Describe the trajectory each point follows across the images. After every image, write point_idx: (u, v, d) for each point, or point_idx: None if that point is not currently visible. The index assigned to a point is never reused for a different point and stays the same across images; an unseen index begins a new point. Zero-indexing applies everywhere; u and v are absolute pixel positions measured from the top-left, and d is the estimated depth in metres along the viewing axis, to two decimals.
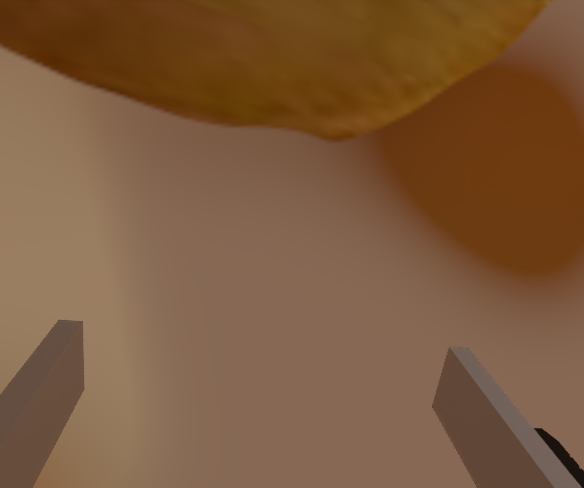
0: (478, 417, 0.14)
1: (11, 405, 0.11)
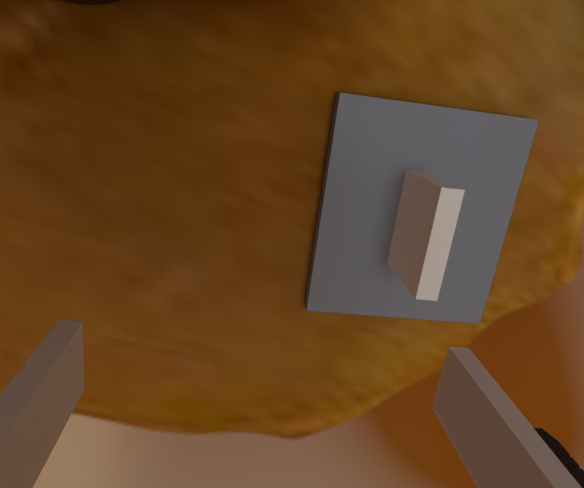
0: (479, 417, 0.14)
1: (11, 405, 0.11)
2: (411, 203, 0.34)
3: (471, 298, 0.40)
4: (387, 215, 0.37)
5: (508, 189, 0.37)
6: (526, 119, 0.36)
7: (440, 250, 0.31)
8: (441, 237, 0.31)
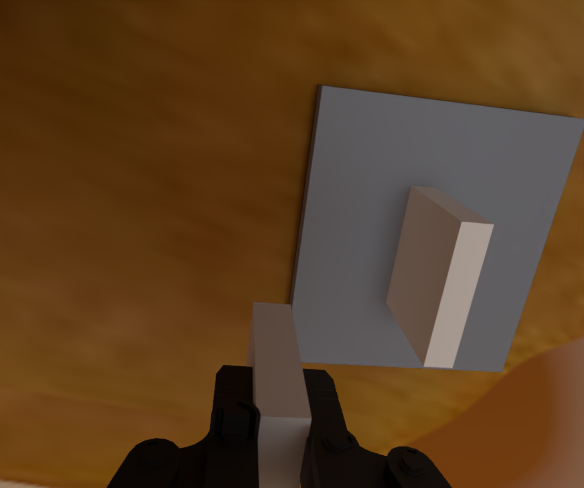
0: None
1: (268, 364, 0.14)
2: (417, 233, 0.26)
3: (492, 342, 0.32)
4: (386, 244, 0.29)
5: (543, 209, 0.29)
6: (570, 118, 0.27)
7: (458, 304, 0.23)
8: (460, 287, 0.22)
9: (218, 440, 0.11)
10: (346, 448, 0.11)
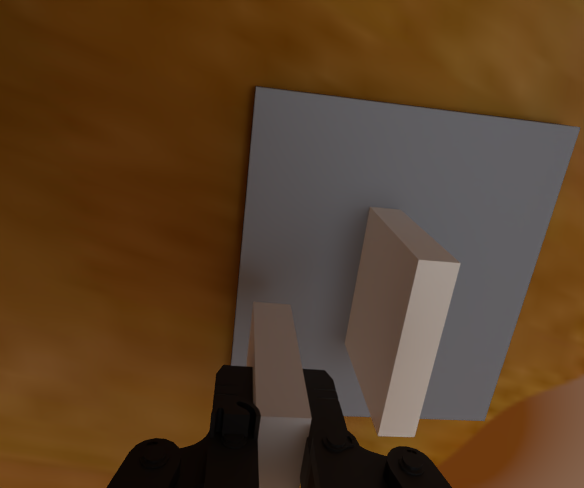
0: None
1: (268, 364, 0.14)
2: (375, 266, 0.21)
3: (472, 387, 0.28)
4: (343, 276, 0.24)
5: (529, 234, 0.24)
6: (561, 127, 0.22)
7: (418, 361, 0.18)
8: (419, 341, 0.18)
9: (218, 440, 0.11)
10: (346, 448, 0.11)
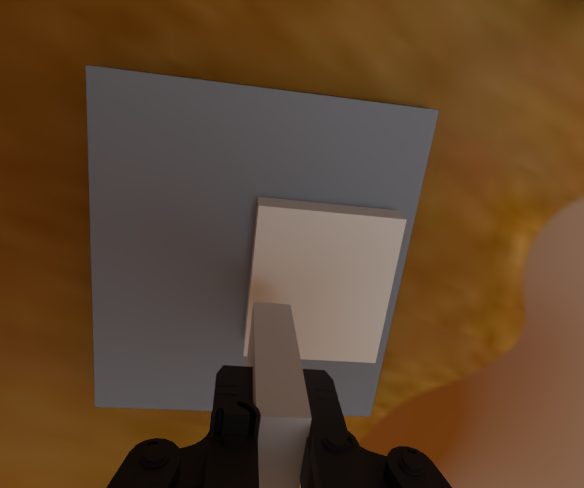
0: None
1: (268, 364, 0.14)
2: (307, 254, 0.22)
3: (353, 382, 0.27)
4: (202, 265, 0.23)
5: None
6: (418, 109, 0.22)
7: None
8: None
9: (218, 440, 0.11)
10: (346, 448, 0.11)
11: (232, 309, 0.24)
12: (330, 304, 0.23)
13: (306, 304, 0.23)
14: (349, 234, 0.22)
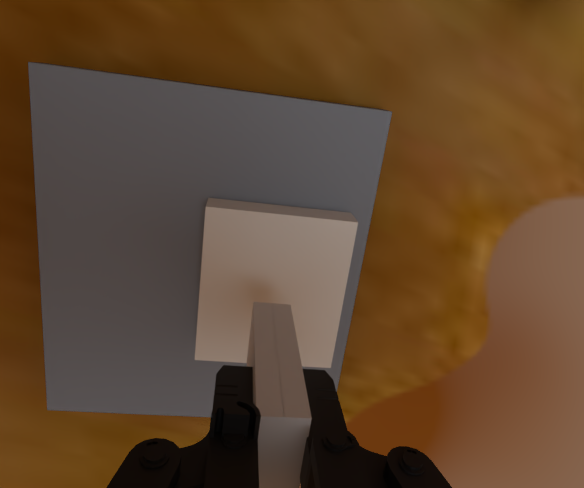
0: None
1: (268, 364, 0.14)
2: (257, 257, 0.21)
3: None
4: (153, 267, 0.23)
5: None
6: (370, 110, 0.21)
7: None
8: None
9: (218, 440, 0.11)
10: (346, 448, 0.11)
11: (185, 312, 0.24)
12: None
13: None
14: (299, 236, 0.21)
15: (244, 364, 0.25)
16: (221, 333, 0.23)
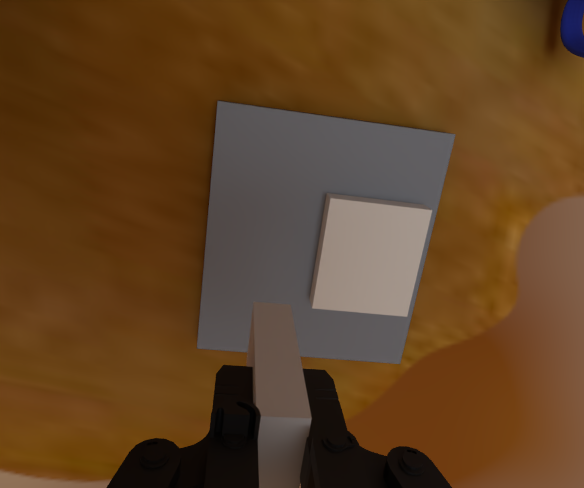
0: None
1: (268, 364, 0.14)
2: (362, 233, 0.31)
3: (388, 335, 0.35)
4: (283, 242, 0.32)
5: None
6: (440, 133, 0.31)
7: None
8: None
9: (218, 440, 0.11)
10: (346, 448, 0.11)
11: (302, 275, 0.33)
12: (376, 271, 0.32)
13: (359, 270, 0.32)
14: (392, 220, 0.31)
15: (340, 316, 0.35)
16: (332, 289, 0.32)
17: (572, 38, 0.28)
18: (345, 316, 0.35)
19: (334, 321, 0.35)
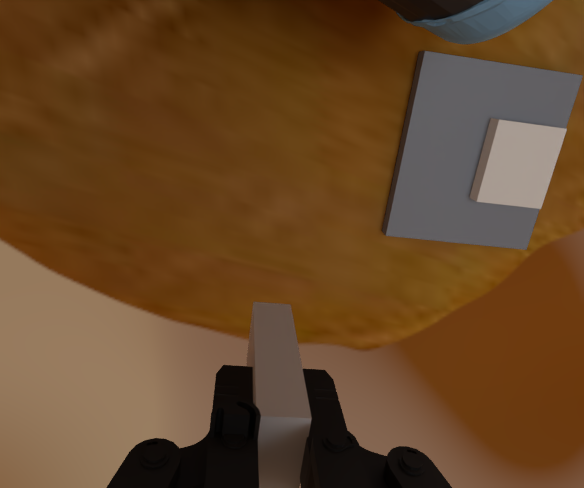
0: None
1: (268, 364, 0.14)
2: (517, 146, 0.44)
3: (520, 227, 0.49)
4: (456, 154, 0.45)
5: None
6: (572, 75, 0.44)
7: None
8: None
9: (218, 440, 0.11)
10: (346, 448, 0.11)
11: (466, 180, 0.47)
12: (523, 173, 0.45)
13: (512, 173, 0.45)
14: (538, 135, 0.44)
15: (488, 212, 0.48)
16: (492, 187, 0.45)
17: None
18: (492, 212, 0.48)
19: (483, 216, 0.48)
